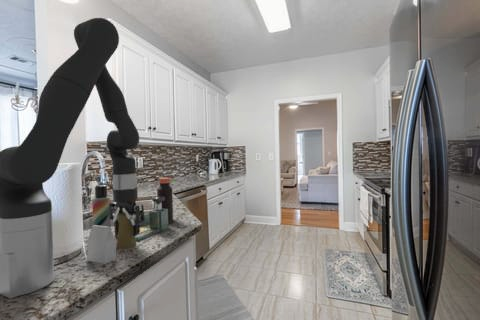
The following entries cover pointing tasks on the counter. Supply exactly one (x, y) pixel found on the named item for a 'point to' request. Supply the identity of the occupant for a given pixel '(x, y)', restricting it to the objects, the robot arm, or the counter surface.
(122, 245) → the cork
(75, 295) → the counter surface
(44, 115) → the robot arm
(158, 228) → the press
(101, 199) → the lotion bottle
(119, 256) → the counter surface
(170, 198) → the vinegar
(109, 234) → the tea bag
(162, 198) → the ram
